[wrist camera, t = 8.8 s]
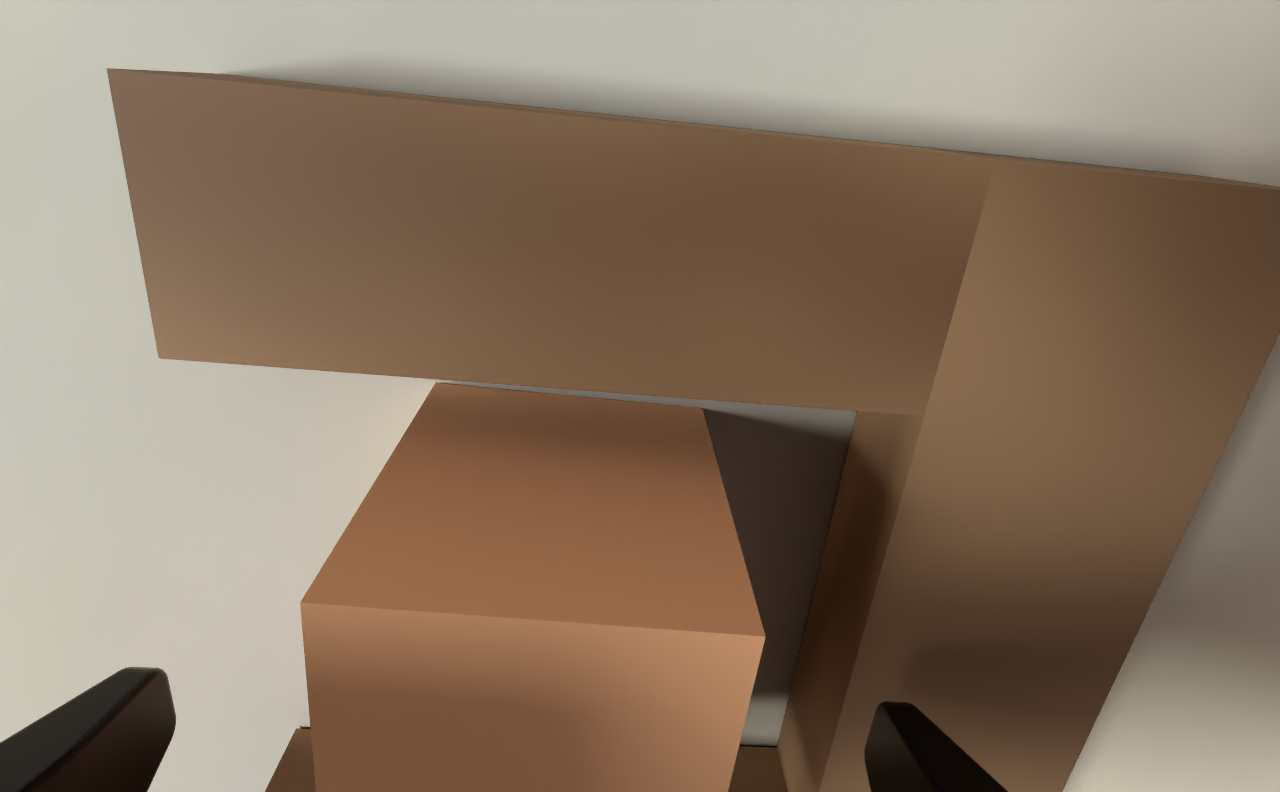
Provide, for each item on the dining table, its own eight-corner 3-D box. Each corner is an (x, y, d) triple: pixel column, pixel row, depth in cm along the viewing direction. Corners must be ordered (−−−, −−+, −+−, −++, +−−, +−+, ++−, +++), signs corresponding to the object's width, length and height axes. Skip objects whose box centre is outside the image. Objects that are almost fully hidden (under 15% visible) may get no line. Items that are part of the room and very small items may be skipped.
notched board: (936, 856, 15) (981, 961, 13) (310, 838, 14) (265, 949, 12) (1203, 176, 10) (1344, 196, 8) (213, 73, 9) (106, 68, 7)
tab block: (652, 698, 13) (672, 1022, 9) (434, 684, 13) (334, 1012, 8) (701, 406, 11) (765, 636, 6) (437, 379, 11) (301, 602, 6)
